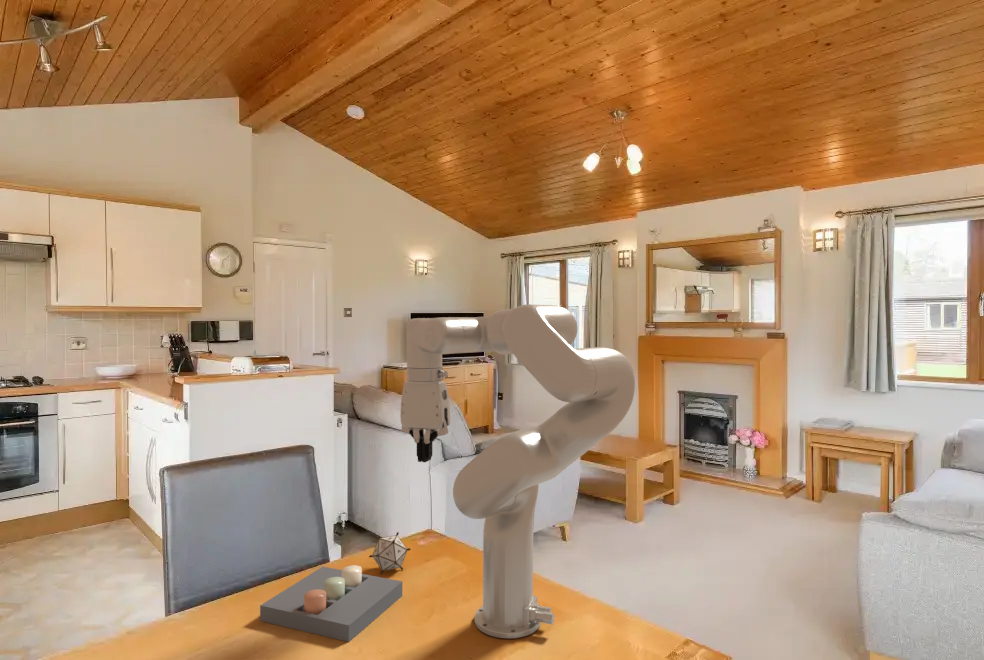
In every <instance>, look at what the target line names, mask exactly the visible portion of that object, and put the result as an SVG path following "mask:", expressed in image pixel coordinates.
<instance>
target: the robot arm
mask: <svg viewBox="0 0 984 660" xmlns="http://www.w3.org/2000/svg"><path fill="white" fill-rule="evenodd" d="M577 335H578V322H577V320H576V318H575V316H574V314H572V312H570V311H569V310H568V309H567V308H566V307H562V306H559V305H553V304H521V305H519V306H516V307H514V308H509V309H507V308H506V309H499V310H496V311H495V312H493V313H492V314H491V315H489V316H486V315H485V316H477V317H473V316H471V317H470V316H469V317H468V316H465V317H464V316H463V317H461V316H460V317H459V316H458V317H457V316H456V317H455V316H453V317H452V316H448V317H445V316H443V317H440V316H439V317H431V318H430V317H427V318H426V317H422V318H421V317H417V318H411V319H409V320H408V321H407V324H406V381H404V383H403V388H402V393H401V398H400V399H401V402H400V423H401V427H400V428H401V429H400V430H401V431H402V432H403V433H406V434H409V435H410V436H411V437H412V438H413V440H414V443H415V444H416V457H417V462H419V463H427V462H429V461H431V460H432V457H433V442H434V441H435V440H436V439H437V438H438V437H441V436H445V435H448V433H449V429H448V426H450V424H451V407H450V398H449V390H448V385H447V382H446V381H443V380H444V378H448V375H449V373H448V371H447V370H444V367H443V355H450V354H452V355H453V354H467V353H470V354H471V353H482V352H484V353H485V352H489V353H490V352H495V353H497V354H499V355H513V356H514V357H515V358H516V359H517V361H519V363H520V364H521V365H522V367H524V368H525V369H526V370H527V371H528V372H529V373H530V375H532V377H534V379H535V380H536V381H537V382H538V384H540V386H541V387H542V388H543V389H544V390H545V391H546V392H547V393H548V394H550V395H551V396H552V397H554V399H556V400H559V401H561V402H565V403H566V404H565V405H563V406H562V407H560V408H559V409H558V410H557V411H555V413H554V414H552V415H551V416H550V417H549V418H547V419H546V420H545V421H544V422H542V423H539V425H537V426H534V427H531V428H527V429H523V430H519V431H516V432H511V433H507V434H505V435H503V436H501V437H499V438H497V439H494V441H492V443H490V444H488V445H487V447H485V448H484V449H483V450H482V451H481V452H480V453H478V454H477V456H475V457H474V458H473V459H471V460H470V461H469V462H467V464H466V465H464V467H463V468H462V469H461V470H460V471H459V472H458V473H457V476H456V477H455V479H454V482H453V487H452V495H453V496H452V497H453V501H454V504H455V506H456V508H457V509H458V511H459V512H460V513H461V514H462V515H464V516H466V517H468V518H469V519H473V520H482V519H483V520H484V524H483V530H482V531H483V534H482V538H483V539H482V605H481V606H480V607H479V608H478V609H477V610H476V611H475V614H474V625H475V627H476V628H477V629H479V631H480V632H482V633H484V634H486V635H487V636H490V637H494V638H499V639H519V638H524V637H526V636H529V635H532V634H534V633H536V631H537V630H539V628H540V627H541V623H543V624H547V625H553V624H554V622H555V613H553V612H552V607H549V606H542V605H540V604H539V603H538V596H537V595H534V527H535V526H534V523H535V522H534V521H535V511H536V505H537V499H538V495H539V494H538V493H539V485H540V484H542V483H545V482H547V481H550V480H552V479H555V478H556V477H557V476H559V475H560V474H561V473H562V472H563V471H565V470H566V469H567V468H568V467H569V466H570V465H571V464H573V463H575V462H576V461H578V459H580V458H581V457H582V456H583V455H585V454H586V453H587V452H588V451H589V450H591V449H592V448H593V447H595V446H596V445H597V444H598V443H599V442H601V441H602V440H604V438H606V437H607V436H608V435H610V434H611V433H612V432H613V431H614V430H615V429H616V428H617V427H618V426H619V425H620V423H621V422H622V421H623V420H624V418H625V417H626V415H627V414H628V412H629V411H630V409H631V406H632V402H633V401H634V400H633V399H634V395H635V389H636V382H635V381H636V380H635V379H636V378H635V373H634V369H633V367H632V364H631V362H630V360H629V359H628V357H626V356H625V355H624V354H623V352H620V351H618V350H616V349H613V348H608V347H601V346H599V347H598V346H597V347H596V346H595V347H583V348H574V347H572V346H571V345H572V344H573V343H574V341H575V340H576V338H577Z"/></svg>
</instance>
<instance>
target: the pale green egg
mask: <svg viewBox="0 0 984 660" xmlns="http://www.w3.org/2000/svg"><path fill="white" fill-rule="evenodd" d="M324 591H325V592H326V598H327V599H332V600H337V601H338V600H339V599H340V598H342V597H343V596H344V595H345V579H344V578H342V577H331V578H328V579H326V580H325V581H324Z"/></svg>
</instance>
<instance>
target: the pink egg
mask: <svg viewBox="0 0 984 660" xmlns="http://www.w3.org/2000/svg"><path fill="white" fill-rule="evenodd" d="M325 609H326V592H325V591H324V590H320V589H316V590H311V591H308V592H306V593H305V594H304V612H307V613H311V614H315V615H318V614H320V613H321V612H323V611H324V610H325Z"/></svg>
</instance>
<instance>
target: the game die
mask: <svg viewBox="0 0 984 660" xmlns="http://www.w3.org/2000/svg"><path fill="white" fill-rule="evenodd" d="M399 534H400V533H399V531H397V532H396V535H390V536H384V537H380V536H379V535H376V539H378V540H377V543H376V545H375V546H374V547H375V548H374V550H373V552H372V554H370V555H369V556H368V558H369V559H370V558H373V560H374V561H375V563H376V564H377V565H378V567H379V569H380V575H383V573H384V572H385V571H390V570H394V569H398V568H399V569H400V570H401V571H403V570H404V567H403V563H404V559H405V558H406V554H407V552H409V551H411V550H412V549H411V548H410V547H409V548H407V547H406V545H405V543H403V541H402V540H401V538H400V536H399Z"/></svg>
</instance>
